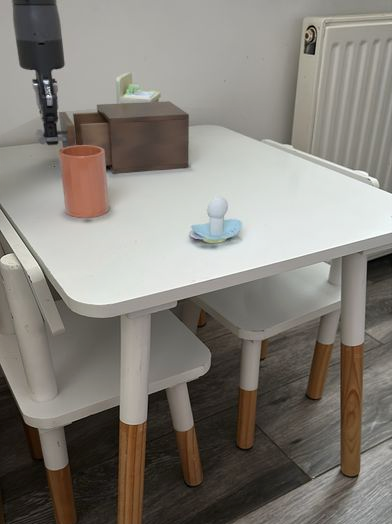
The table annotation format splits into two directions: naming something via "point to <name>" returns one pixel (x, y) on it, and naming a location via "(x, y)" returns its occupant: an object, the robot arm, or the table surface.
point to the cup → (84, 180)
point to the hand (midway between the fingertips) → (52, 143)
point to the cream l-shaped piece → (133, 91)
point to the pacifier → (216, 224)
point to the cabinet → (147, 136)
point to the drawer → (82, 132)
